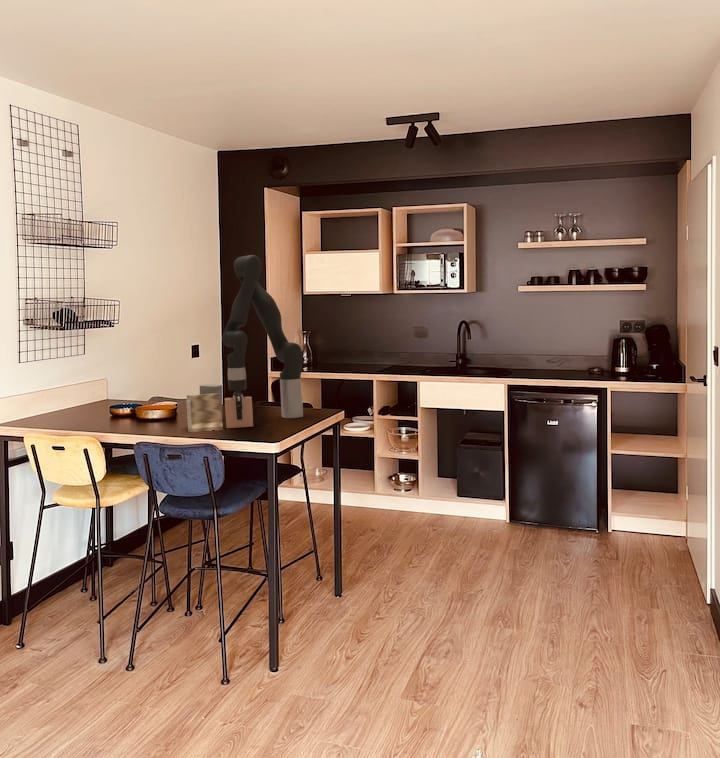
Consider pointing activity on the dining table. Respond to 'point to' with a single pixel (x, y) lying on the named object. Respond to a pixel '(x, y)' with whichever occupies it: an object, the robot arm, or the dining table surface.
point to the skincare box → (211, 390)
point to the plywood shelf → (206, 412)
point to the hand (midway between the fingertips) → (239, 418)
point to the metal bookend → (189, 413)
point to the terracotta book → (232, 414)
